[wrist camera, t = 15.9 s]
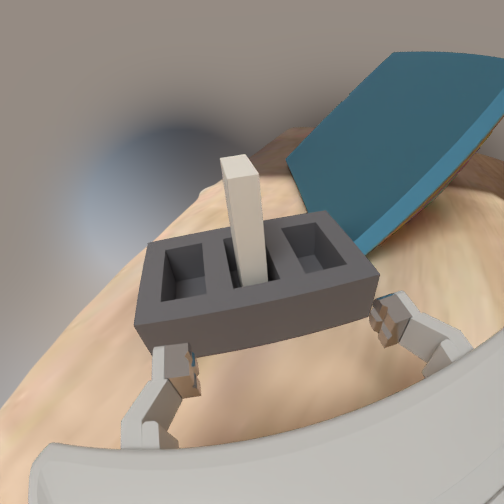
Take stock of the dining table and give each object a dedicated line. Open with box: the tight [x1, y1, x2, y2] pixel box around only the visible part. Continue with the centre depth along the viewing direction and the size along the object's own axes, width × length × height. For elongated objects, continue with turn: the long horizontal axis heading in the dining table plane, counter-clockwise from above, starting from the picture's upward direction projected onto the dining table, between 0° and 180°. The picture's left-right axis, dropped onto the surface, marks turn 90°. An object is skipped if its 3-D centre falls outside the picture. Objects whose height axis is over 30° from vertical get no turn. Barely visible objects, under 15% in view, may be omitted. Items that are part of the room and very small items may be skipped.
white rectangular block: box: [220, 154, 268, 287], centre depth 22 cm, size 5×2×12 cm, turn 11°
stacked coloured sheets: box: [286, 52, 504, 256], centre depth 37 cm, size 35×18×35 cm
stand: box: [134, 210, 380, 357], centre depth 25 cm, size 11×19×5 cm, turn 101°
